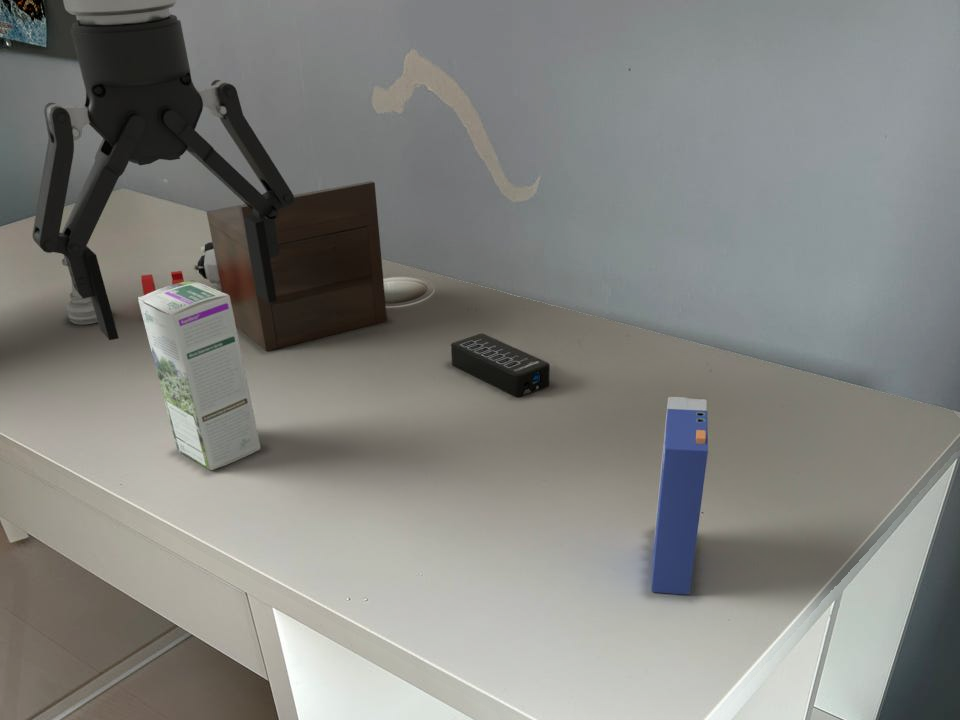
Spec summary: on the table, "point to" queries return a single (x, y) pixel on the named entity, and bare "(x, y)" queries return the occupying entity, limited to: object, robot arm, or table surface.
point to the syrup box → (201, 372)
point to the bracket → (149, 283)
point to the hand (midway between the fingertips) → (190, 315)
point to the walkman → (680, 494)
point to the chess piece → (80, 307)
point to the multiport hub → (500, 365)
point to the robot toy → (208, 264)
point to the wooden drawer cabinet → (306, 267)
